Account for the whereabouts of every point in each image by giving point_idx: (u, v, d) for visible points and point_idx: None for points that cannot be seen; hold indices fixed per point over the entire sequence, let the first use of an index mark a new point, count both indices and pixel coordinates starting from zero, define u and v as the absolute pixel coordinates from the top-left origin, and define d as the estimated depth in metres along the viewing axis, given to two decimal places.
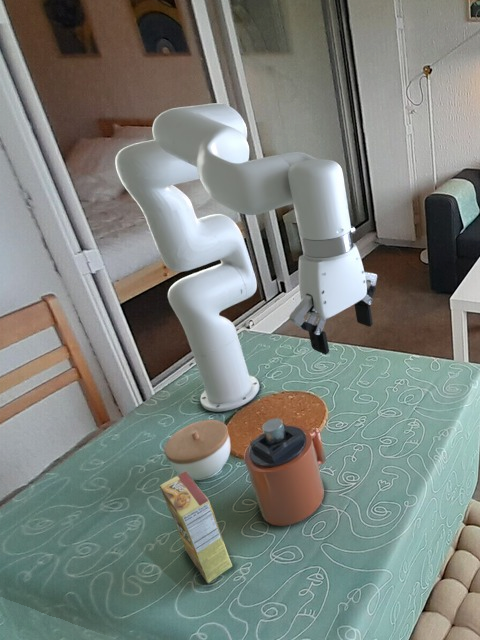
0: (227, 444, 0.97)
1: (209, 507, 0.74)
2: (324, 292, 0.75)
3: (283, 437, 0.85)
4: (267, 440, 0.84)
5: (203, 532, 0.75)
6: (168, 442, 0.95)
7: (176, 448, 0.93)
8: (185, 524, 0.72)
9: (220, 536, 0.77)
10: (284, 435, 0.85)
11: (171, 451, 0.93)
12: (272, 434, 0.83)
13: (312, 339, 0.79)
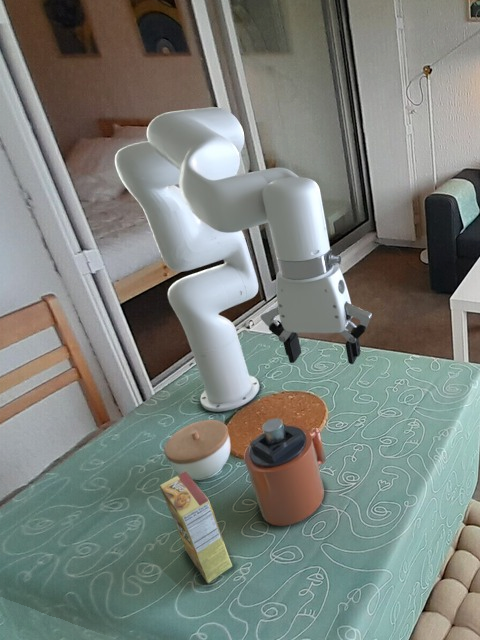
0: (227, 444, 0.97)
1: (209, 507, 0.74)
2: (282, 306, 0.75)
3: (283, 437, 0.85)
4: (267, 440, 0.84)
5: (203, 532, 0.75)
6: (168, 442, 0.95)
7: (176, 448, 0.93)
8: (185, 524, 0.72)
9: (220, 536, 0.77)
10: (284, 435, 0.85)
11: (171, 451, 0.93)
12: (272, 434, 0.83)
13: None
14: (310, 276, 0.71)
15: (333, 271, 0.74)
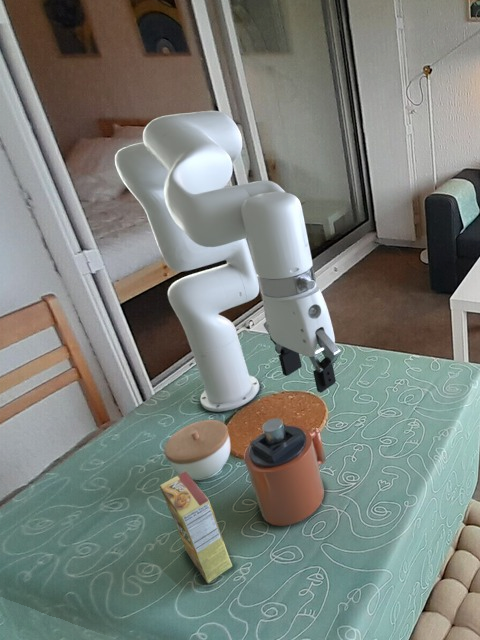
0: (227, 444, 0.97)
1: (209, 507, 0.74)
2: (267, 317, 0.75)
3: (283, 437, 0.85)
4: (267, 440, 0.84)
5: (203, 532, 0.75)
6: (168, 442, 0.95)
7: (176, 448, 0.93)
8: (185, 524, 0.72)
9: (220, 536, 0.77)
10: (284, 435, 0.85)
11: (171, 451, 0.93)
12: (272, 434, 0.83)
13: None
14: (277, 295, 0.69)
15: (308, 294, 0.71)
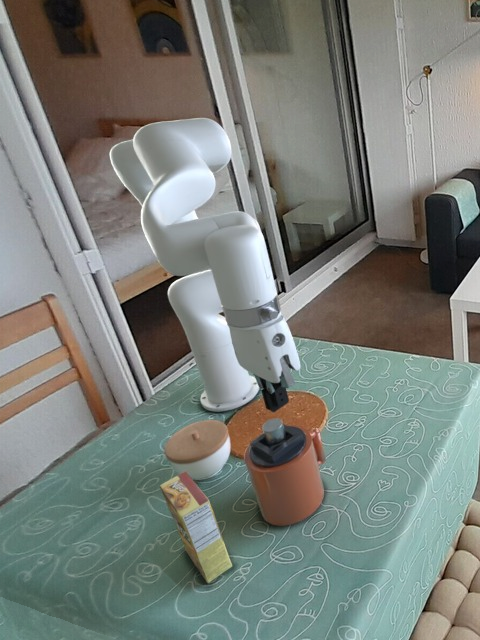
0: (227, 444, 0.97)
1: (209, 507, 0.74)
2: (234, 344, 0.77)
3: (283, 437, 0.85)
4: (267, 440, 0.84)
5: (203, 532, 0.75)
6: (168, 442, 0.95)
7: (176, 448, 0.93)
8: (185, 524, 0.72)
9: (220, 536, 0.77)
10: (284, 435, 0.85)
11: (171, 451, 0.93)
12: (272, 434, 0.83)
13: None
14: (241, 325, 0.71)
15: (272, 323, 0.73)
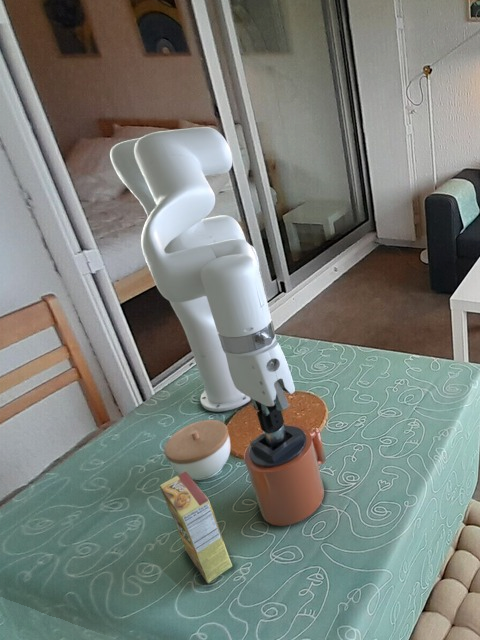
0: (227, 444, 0.97)
1: (209, 507, 0.74)
2: (230, 368, 0.79)
3: (283, 439, 0.85)
4: (268, 442, 0.84)
5: (203, 532, 0.75)
6: (168, 442, 0.95)
7: (176, 448, 0.93)
8: (185, 524, 0.72)
9: (220, 536, 0.77)
10: (284, 437, 0.85)
11: (171, 451, 0.93)
12: (272, 436, 0.83)
13: None
14: (236, 352, 0.73)
15: (266, 349, 0.75)
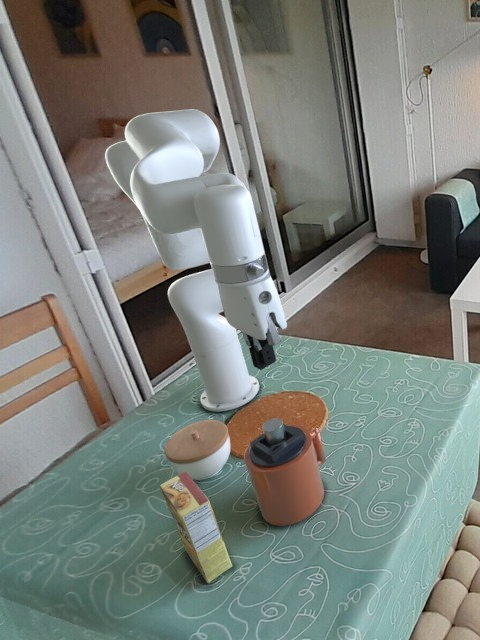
0: (227, 444, 0.97)
1: (209, 507, 0.74)
2: (222, 302, 0.79)
3: (283, 437, 0.85)
4: (267, 440, 0.84)
5: (203, 532, 0.75)
6: (168, 442, 0.95)
7: (176, 448, 0.93)
8: (185, 524, 0.72)
9: (220, 536, 0.77)
10: (284, 435, 0.85)
11: (171, 451, 0.93)
12: (272, 434, 0.83)
13: None
14: (228, 281, 0.73)
15: (258, 281, 0.75)
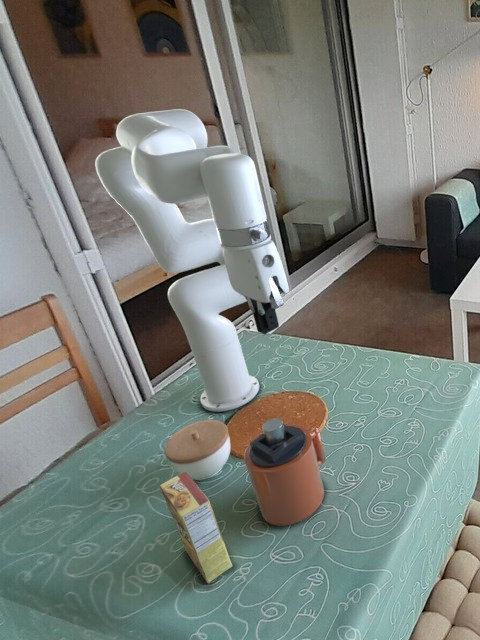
0: (227, 444, 0.97)
1: (209, 507, 0.74)
2: (227, 268, 0.84)
3: (283, 437, 0.85)
4: (267, 440, 0.84)
5: (203, 532, 0.75)
6: (168, 442, 0.95)
7: (176, 448, 0.93)
8: (185, 524, 0.72)
9: (220, 536, 0.77)
10: (284, 435, 0.85)
11: (171, 451, 0.93)
12: (272, 434, 0.83)
13: None
14: (233, 245, 0.77)
15: (262, 245, 0.79)
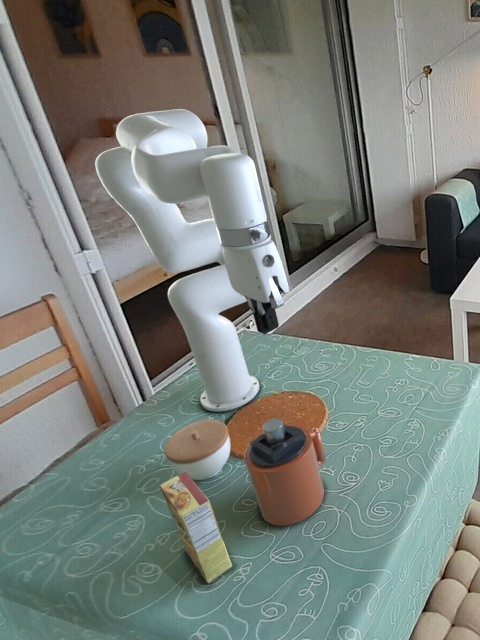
0: (227, 444, 0.97)
1: (209, 507, 0.74)
2: (227, 268, 0.84)
3: (283, 437, 0.85)
4: (267, 440, 0.84)
5: (203, 532, 0.75)
6: (168, 442, 0.95)
7: (176, 448, 0.93)
8: (185, 524, 0.72)
9: (220, 536, 0.77)
10: (284, 435, 0.85)
11: (171, 451, 0.93)
12: (272, 434, 0.83)
13: None
14: (233, 245, 0.78)
15: (262, 245, 0.79)
